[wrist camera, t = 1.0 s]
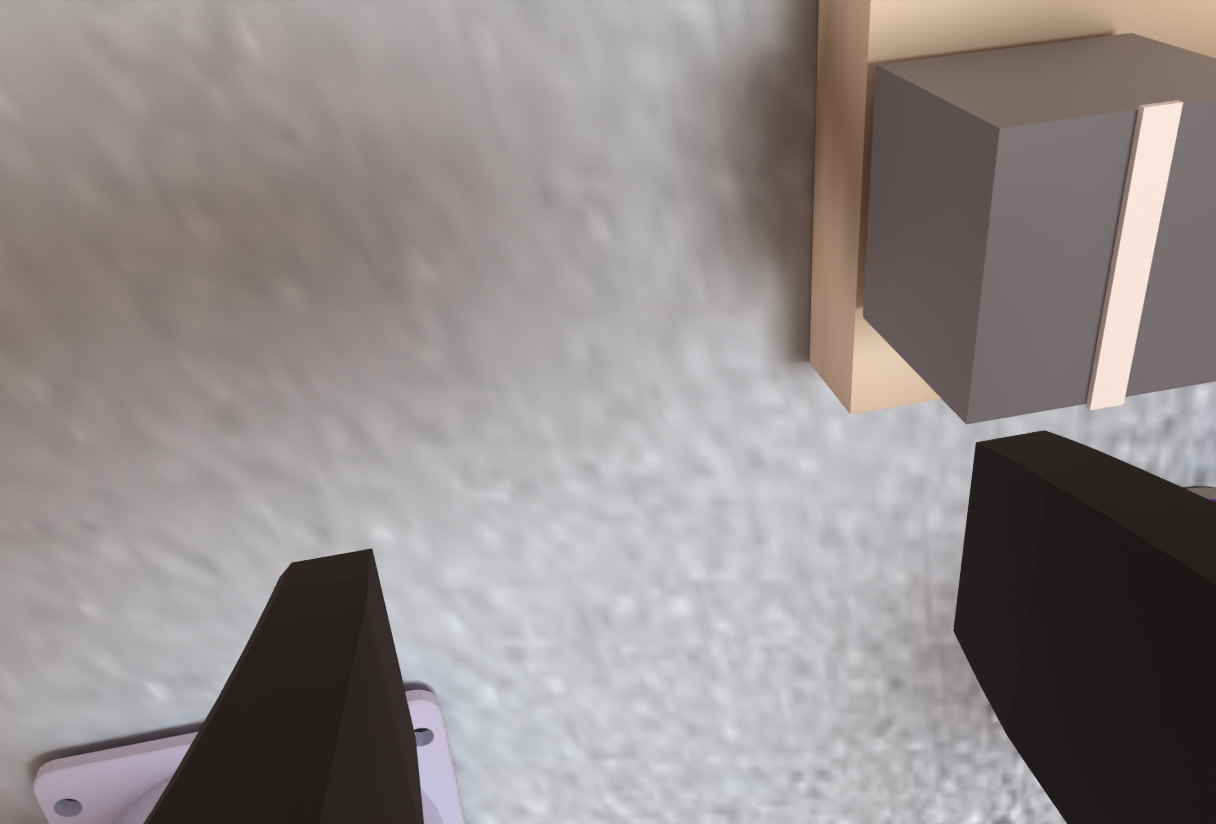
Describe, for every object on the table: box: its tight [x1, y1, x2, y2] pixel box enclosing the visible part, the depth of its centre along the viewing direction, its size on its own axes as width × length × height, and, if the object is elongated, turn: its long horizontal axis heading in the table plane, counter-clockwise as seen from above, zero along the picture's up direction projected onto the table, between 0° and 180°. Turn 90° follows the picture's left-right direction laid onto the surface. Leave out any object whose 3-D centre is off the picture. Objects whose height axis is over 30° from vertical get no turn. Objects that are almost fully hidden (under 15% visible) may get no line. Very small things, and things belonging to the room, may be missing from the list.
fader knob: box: [863, 33, 1216, 424], centre depth 15 cm, size 4×4×4 cm
